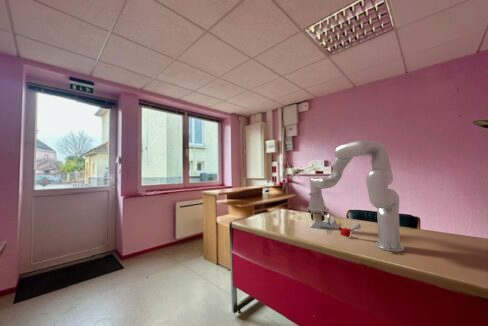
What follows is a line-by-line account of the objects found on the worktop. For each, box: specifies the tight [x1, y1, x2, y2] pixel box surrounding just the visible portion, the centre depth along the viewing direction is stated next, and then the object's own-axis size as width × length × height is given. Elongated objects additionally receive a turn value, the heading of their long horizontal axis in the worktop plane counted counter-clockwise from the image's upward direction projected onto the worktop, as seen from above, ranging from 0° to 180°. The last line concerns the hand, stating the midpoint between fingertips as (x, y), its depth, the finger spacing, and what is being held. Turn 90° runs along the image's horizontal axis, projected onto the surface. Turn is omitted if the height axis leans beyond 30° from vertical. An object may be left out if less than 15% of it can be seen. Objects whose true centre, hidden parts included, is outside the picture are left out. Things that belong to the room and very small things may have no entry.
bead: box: [312, 212, 323, 223], centre depth 145 cm, size 6×6×5 cm
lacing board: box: [309, 221, 338, 232], centre depth 148 cm, size 20×15×2 cm
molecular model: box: [330, 219, 362, 238], centre depth 127 cm, size 18×6×10 cm, turn 50°
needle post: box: [326, 212, 332, 225], centre depth 151 cm, size 2×2×8 cm
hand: (317, 220), depth 145 cm, fingers closed on bead, 6 cm apart
